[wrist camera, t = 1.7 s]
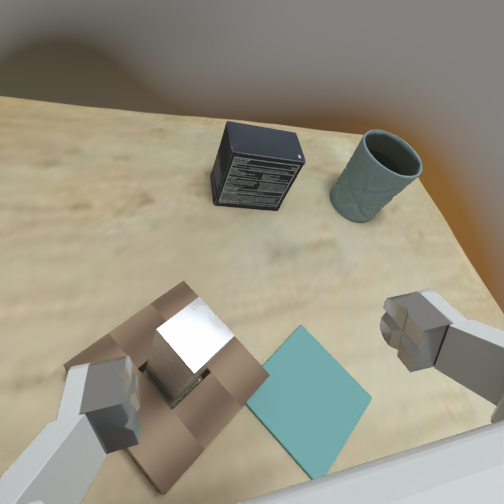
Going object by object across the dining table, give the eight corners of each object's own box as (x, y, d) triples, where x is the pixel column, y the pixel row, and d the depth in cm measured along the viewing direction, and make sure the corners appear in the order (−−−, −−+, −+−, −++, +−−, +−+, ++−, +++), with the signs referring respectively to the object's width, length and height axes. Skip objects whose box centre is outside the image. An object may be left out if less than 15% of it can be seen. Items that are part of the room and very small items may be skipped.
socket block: (67, 372, 33) (63, 364, 30) (179, 292, 41) (183, 280, 39) (160, 493, 30) (164, 495, 28) (260, 381, 38) (270, 375, 36)
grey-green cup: (375, 234, 58) (426, 186, 49) (322, 212, 57) (363, 159, 47) (374, 194, 64) (419, 145, 55) (326, 173, 63) (364, 119, 53)
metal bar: (143, 376, 35) (156, 329, 24) (174, 350, 37) (198, 296, 26) (168, 406, 34) (194, 373, 23) (198, 378, 36) (234, 335, 25)
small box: (271, 181, 57) (297, 130, 49) (278, 211, 54) (308, 163, 45) (209, 173, 53) (226, 117, 45) (213, 206, 50) (232, 152, 42)
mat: (236, 394, 37) (237, 393, 36) (299, 325, 44) (301, 324, 43) (317, 485, 35) (319, 485, 34) (369, 398, 42) (372, 397, 41)
